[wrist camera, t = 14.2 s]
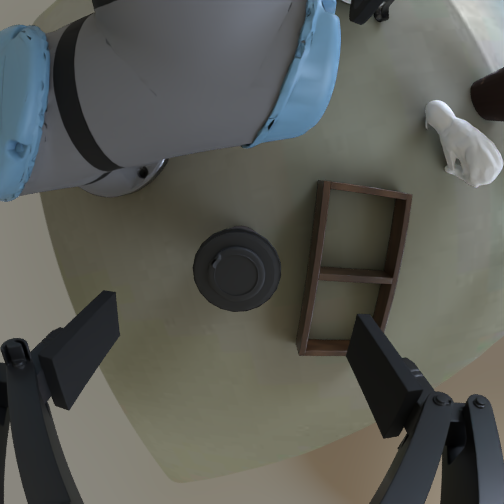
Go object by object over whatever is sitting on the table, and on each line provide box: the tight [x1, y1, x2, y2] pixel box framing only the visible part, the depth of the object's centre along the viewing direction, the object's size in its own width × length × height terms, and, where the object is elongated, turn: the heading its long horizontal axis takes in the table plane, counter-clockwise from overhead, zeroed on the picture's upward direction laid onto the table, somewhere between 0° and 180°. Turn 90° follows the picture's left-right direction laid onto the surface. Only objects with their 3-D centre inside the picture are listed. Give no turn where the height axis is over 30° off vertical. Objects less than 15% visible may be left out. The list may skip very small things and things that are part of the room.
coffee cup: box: [193, 226, 281, 312], centre depth 31 cm, size 8×8×10 cm
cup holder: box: [296, 180, 412, 356], centre depth 36 cm, size 11×22×3 cm, turn 175°
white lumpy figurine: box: [425, 100, 503, 188], centre depth 29 cm, size 6×8×12 cm
